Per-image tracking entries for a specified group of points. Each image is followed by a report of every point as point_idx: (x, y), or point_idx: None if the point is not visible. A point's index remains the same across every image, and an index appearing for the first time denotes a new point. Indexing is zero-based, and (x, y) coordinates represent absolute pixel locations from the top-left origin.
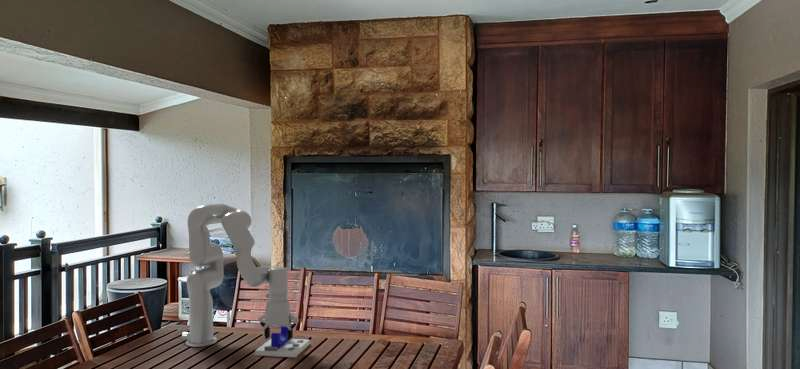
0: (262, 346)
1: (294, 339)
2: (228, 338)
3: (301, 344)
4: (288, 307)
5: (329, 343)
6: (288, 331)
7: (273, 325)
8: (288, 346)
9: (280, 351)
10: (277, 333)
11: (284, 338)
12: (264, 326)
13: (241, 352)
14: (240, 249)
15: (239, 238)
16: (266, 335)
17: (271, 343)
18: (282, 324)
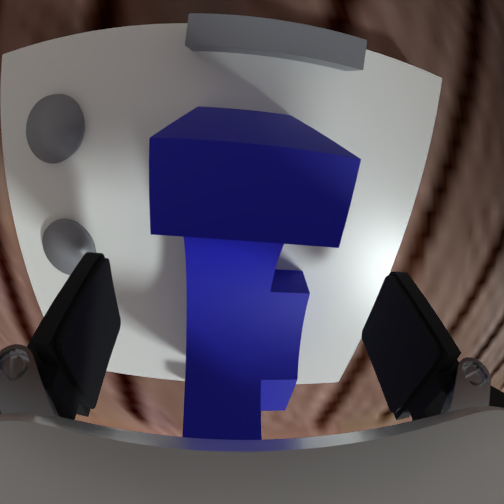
0: (398, 192)
1: (160, 370)
2: (500, 353)
3: (43, 270)
4: None
5: (4, 342)
6: (46, 330)
7: (369, 435)
8: (118, 208)
9: (145, 28)
10: (196, 203)
11: (199, 333)
12: (484, 389)
13: (499, 163)
14: None
15: None
16: (410, 296)
17: (301, 123)
18: (64, 460)
